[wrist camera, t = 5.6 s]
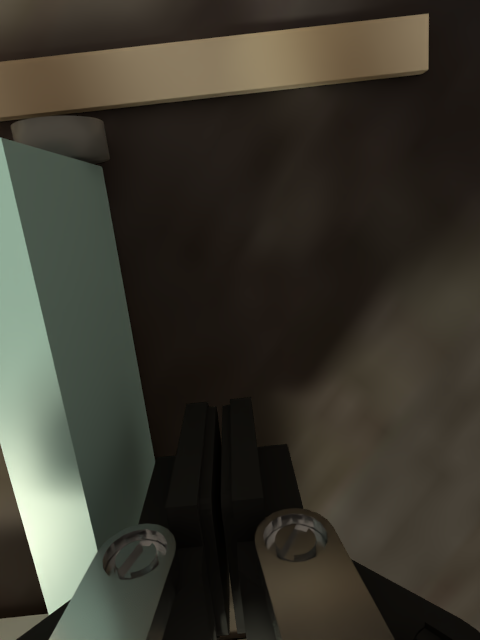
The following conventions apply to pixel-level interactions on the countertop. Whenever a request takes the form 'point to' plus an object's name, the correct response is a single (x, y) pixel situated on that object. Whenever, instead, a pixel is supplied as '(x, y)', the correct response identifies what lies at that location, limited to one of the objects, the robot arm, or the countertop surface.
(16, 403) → the green frame
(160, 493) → the robot arm
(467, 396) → the countertop surface
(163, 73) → the track
